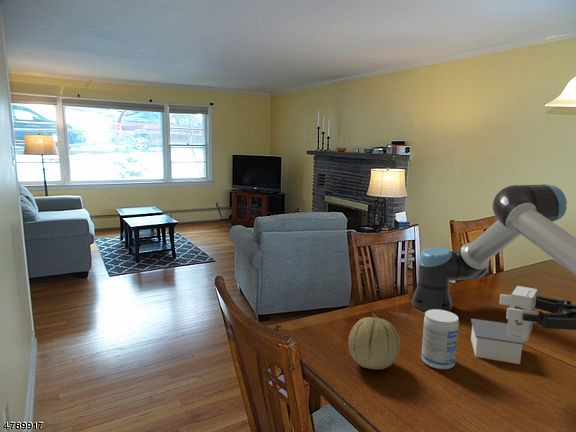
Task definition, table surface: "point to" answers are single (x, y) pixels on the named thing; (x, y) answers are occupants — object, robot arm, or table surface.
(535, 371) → the table surface
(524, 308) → the ink box
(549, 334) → the table surface
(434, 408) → the table surface
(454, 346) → the supplement tub
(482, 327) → the podium
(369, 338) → the cantaloupe
